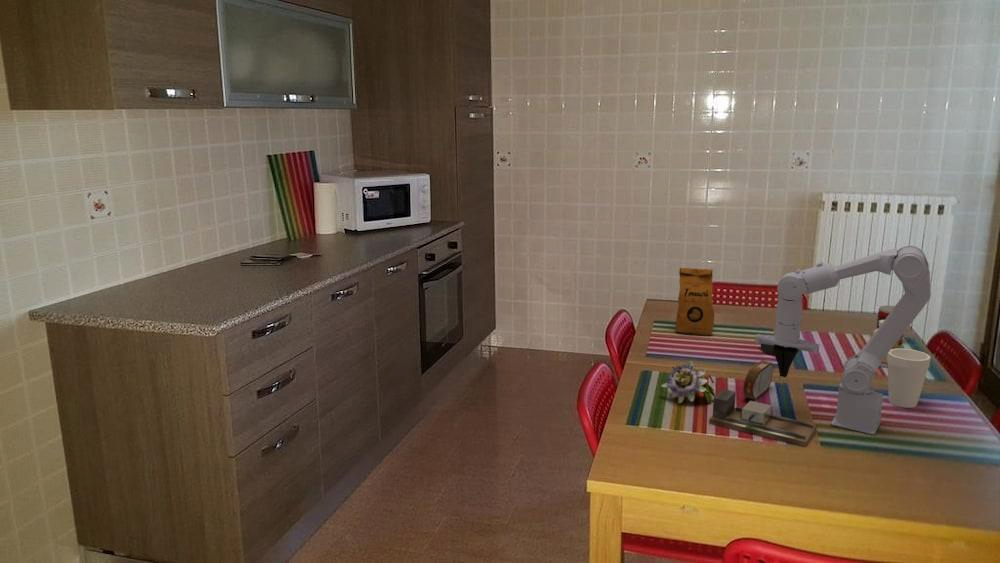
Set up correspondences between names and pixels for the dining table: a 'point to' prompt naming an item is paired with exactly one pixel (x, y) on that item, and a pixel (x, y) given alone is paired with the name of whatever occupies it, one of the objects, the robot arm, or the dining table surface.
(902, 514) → the dining table surface
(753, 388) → the tin
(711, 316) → the coffee package
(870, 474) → the dining table surface
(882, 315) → the canned food
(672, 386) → the passion flower
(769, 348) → the smart speaker
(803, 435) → the base
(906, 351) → the foam cup
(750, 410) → the block
